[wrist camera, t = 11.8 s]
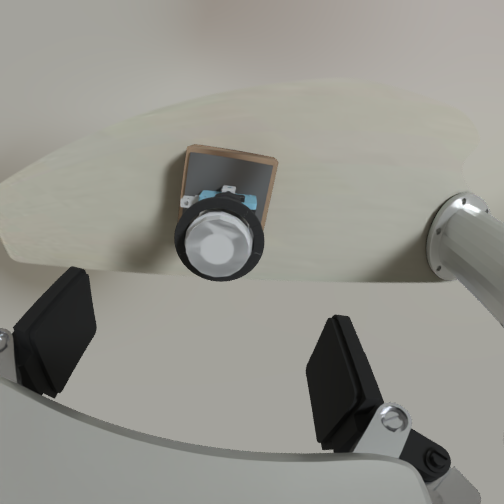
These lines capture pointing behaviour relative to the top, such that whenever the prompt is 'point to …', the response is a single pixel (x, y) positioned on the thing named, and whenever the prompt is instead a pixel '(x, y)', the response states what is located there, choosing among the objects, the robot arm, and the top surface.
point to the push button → (219, 234)
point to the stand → (229, 175)
